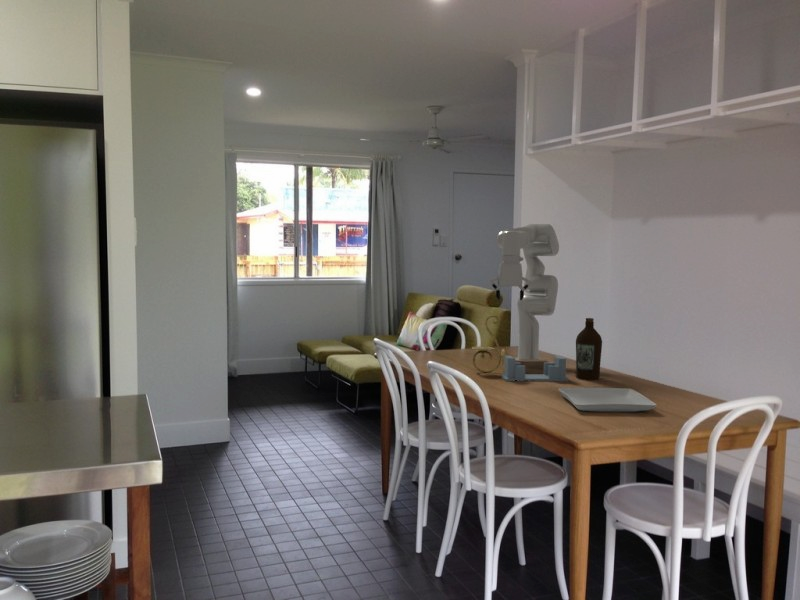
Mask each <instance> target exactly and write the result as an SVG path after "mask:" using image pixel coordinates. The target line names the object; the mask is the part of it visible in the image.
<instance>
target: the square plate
mask: <svg viewBox="0 0 800 600" xmlns="http://www.w3.org/2000/svg"><path fill="white" fill-rule="evenodd" d="M557 390H558V391H559V393H560V394H561V396H562V397H564V398H565V399H567V401H569V402H570V403H571V404H572V405H573V406H574V407H575V408H576V409H577V410H579V411H585V412H610V413H611V412H618V413H619V412H620V413H621V412H622V413H623V412H624V413H625V412H629V413H630V412H631V413H634V412H635V413H636V412H643V411H650V410H652V409H654V408H655V407H657V406H658V404H657V403H655V402H654V401H652V400H651V399H650V398H648V397H647V396H645V395H643V394H641V393H640V392H638V391H636V390H635V389H633V388H621V387H620V388H619V387H618V388H617V387H571V388H570V387H567V388H565V387H563V388H562V387H560V388H557Z"/></svg>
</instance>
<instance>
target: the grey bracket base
mask: <svg viewBox="0 0 800 600" xmlns="http://www.w3.org/2000/svg"><path fill="white" fill-rule="evenodd" d="M515 358H516V357H514V356H512V355H505V356H504V365H503V373H501V374H500V377H501V378H502V380H504V379H505V380H506V381H505V380H504V381H505V382H525V381H524V380H528V381H527V382H532V381H531V380H535V381H534V382H570V378H568V377H567V376H566V375H567V373H566V371H567V358H566V357H564V356H562V355H554V356H553V362H548V363H544V374H525V366H521V363H515ZM515 380H517V381H515Z"/></svg>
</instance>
